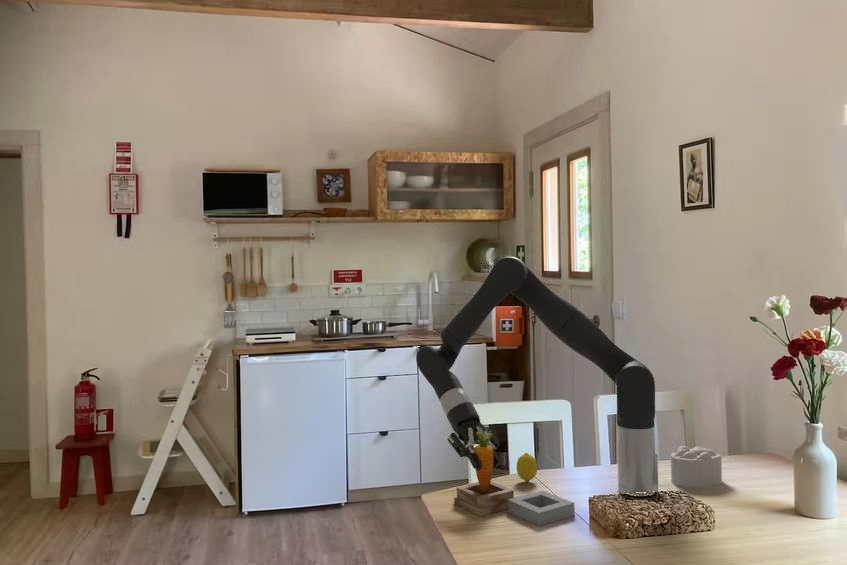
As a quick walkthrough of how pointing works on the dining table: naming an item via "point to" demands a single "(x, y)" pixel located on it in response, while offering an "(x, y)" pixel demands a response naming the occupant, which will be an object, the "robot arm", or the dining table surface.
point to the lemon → (526, 467)
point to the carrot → (484, 460)
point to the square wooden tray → (483, 498)
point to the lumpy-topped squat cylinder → (695, 467)
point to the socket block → (549, 511)
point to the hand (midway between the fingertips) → (488, 466)
